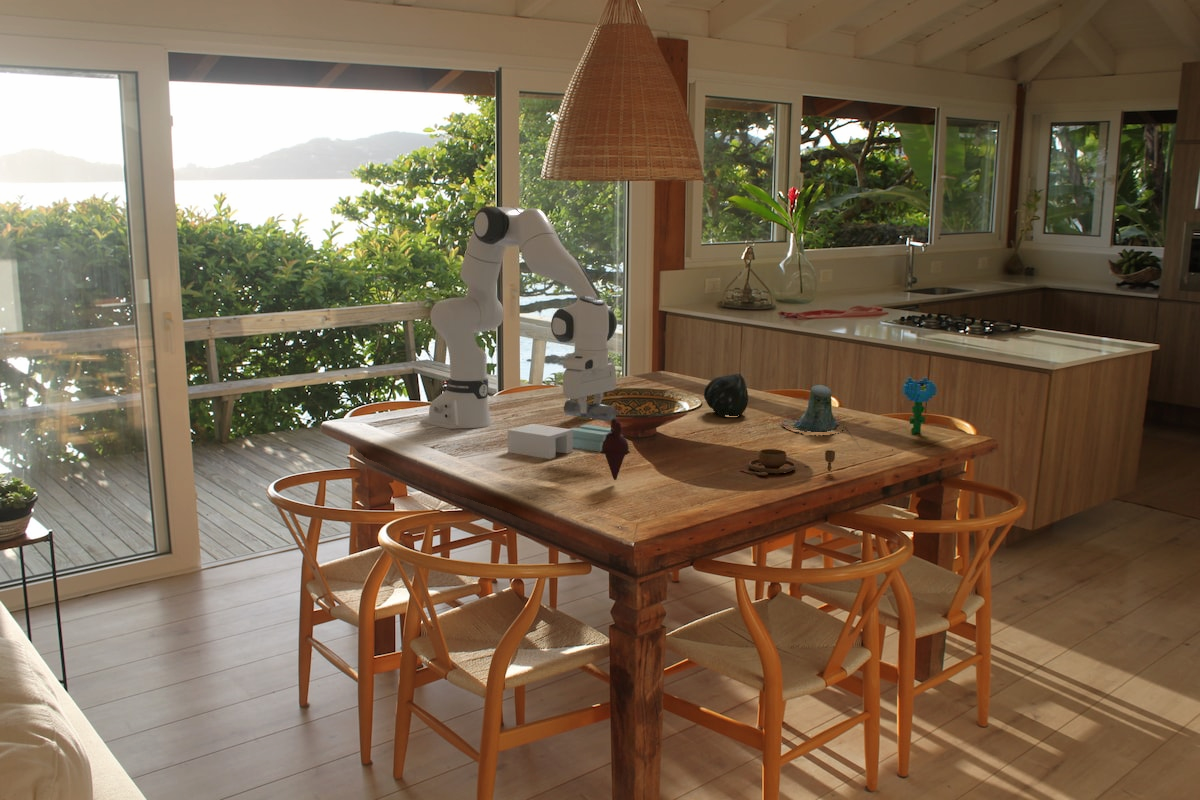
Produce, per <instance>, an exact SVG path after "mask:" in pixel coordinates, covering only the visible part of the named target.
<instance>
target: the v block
mask: <svg viewBox="0 0 1200 800" xmlns="http://www.w3.org/2000/svg"><path fill="white" fill-rule="evenodd" d="M570 429H572V430H573V449H574V448H575V449H581V450H586V451H587V450H589V451H594V452H599V453H600V452H601V451H602V445H603V441H604V440H605V439H606V435H607V434H609V433H612V432H611V427H606V426H598V425H591V424H585V423H584V424H582V425H579V426H578V427H572V428H570ZM620 435H622V436H624V435H623V434H622V433H621V434H620Z"/></svg>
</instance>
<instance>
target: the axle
mask: <svg viewBox="0 0 1200 800" xmlns="http://www.w3.org/2000/svg"><path fill="white" fill-rule="evenodd" d="M586 403H587V402H586ZM587 406H589V412H588V413H581V412H580V405H579V403H578V401H577V400H574V399H567V400H565V402H564V405H563V412H564V414H565V415H566V416H573V417H576V416H579V417H585V418H592V419H593V420H599V421H606V422H611V421H612V419H617V418H616V417H617V408H616V406H614V405H607V404H601V403H600V404H594V403H587Z"/></svg>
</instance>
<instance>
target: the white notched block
mask: <svg viewBox="0 0 1200 800" xmlns="http://www.w3.org/2000/svg"><path fill="white" fill-rule="evenodd" d="M573 451H574V447H573V430H572V429H571V428H566V427H565V428H564V427H557V426H551V425H550V426H549V425H543V424H537V423H529V424H524V425H521V426H517V427H513V428H510V429H507V452H508V453H511V454H517V455H521V456H522V455H523V456H529V457H535V458H539V459H546V460H551V459H554V458H556V453H562V454H570V453H573Z"/></svg>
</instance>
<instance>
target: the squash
mask: <svg viewBox="0 0 1200 800" xmlns="http://www.w3.org/2000/svg"><path fill="white" fill-rule="evenodd" d="M745 381H746V380H745V378H744V377H743V375H742V374H741V373H734V374H728V375H722V376H716V377H715V378H713V379H712V380H710V381H709V383H708V384H706V386H705V388H704V392H703V397H704V400H705V401H706V404H707V406H708V407H709V408H710V409H712V411H713V412H714V411H715V412H718V413H717V415H719V416H720V417H722V416H725V415H729V416H738V415H740V416H741V415H742V414H744V412H745V411H746V409H747V407H748V404H749V393H748V392H749V391H748V388H747V384H746V382H745ZM715 412H714V413H715Z"/></svg>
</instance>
